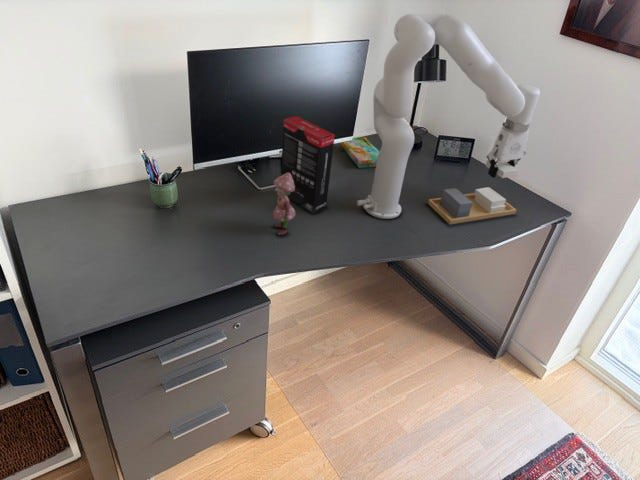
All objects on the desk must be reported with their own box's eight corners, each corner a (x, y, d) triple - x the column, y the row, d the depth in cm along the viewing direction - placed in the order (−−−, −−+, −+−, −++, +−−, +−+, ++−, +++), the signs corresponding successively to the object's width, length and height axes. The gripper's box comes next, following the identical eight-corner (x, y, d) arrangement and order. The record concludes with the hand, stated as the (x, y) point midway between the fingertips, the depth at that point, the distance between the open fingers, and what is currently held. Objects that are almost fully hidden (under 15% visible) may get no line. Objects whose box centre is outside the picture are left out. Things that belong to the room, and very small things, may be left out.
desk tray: (449, 226, 163) (450, 220, 162) (427, 205, 174) (428, 199, 172) (514, 215, 173) (516, 210, 172) (490, 196, 183) (492, 190, 182)
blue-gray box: (456, 219, 166) (458, 212, 164) (439, 204, 173) (441, 197, 171) (468, 217, 167) (470, 210, 166) (451, 202, 175) (453, 195, 173)
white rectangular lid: (502, 178, 163) (504, 172, 162) (485, 165, 170) (487, 160, 169) (516, 176, 165) (519, 170, 164) (499, 164, 172) (501, 158, 171)
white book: (489, 213, 171) (491, 208, 170) (474, 200, 178) (475, 195, 177) (503, 211, 173) (505, 205, 172) (487, 198, 180) (489, 193, 179)
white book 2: (490, 207, 170) (492, 202, 169) (473, 194, 177) (475, 189, 175) (504, 204, 173) (506, 199, 171) (487, 192, 179) (488, 186, 178)
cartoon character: (298, 239, 150) (303, 180, 138) (275, 241, 147) (278, 182, 136) (289, 220, 157) (293, 164, 146) (267, 222, 155) (270, 165, 143)
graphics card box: (327, 208, 165) (337, 132, 150) (313, 215, 161) (321, 137, 145) (292, 188, 174) (297, 114, 158) (277, 194, 170) (281, 118, 154)
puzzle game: (358, 158, 188) (339, 136, 203) (356, 169, 190) (338, 147, 205) (386, 156, 191) (365, 135, 206) (384, 167, 194) (364, 145, 209)
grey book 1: (458, 212, 164) (460, 204, 162) (441, 197, 171) (443, 189, 170) (470, 210, 166) (473, 202, 164) (453, 195, 173) (455, 187, 171)
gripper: (502, 131, 152) (485, 182, 163) (545, 127, 158) (526, 177, 169) (487, 122, 158) (472, 172, 168) (529, 118, 164) (512, 167, 174)
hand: (499, 174), depth 168 cm, fingers closed on white rectangular lid, 6 cm apart
